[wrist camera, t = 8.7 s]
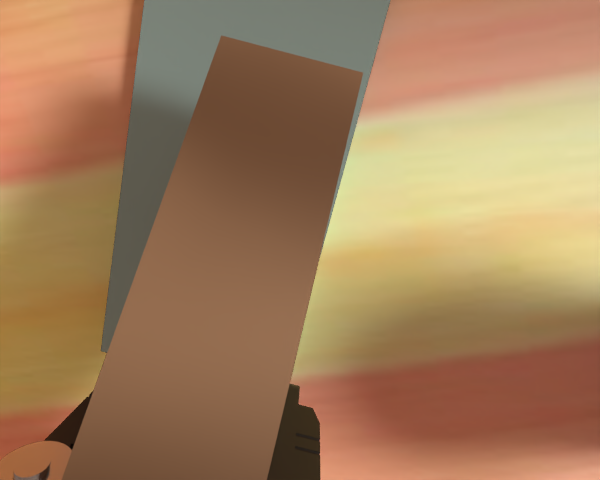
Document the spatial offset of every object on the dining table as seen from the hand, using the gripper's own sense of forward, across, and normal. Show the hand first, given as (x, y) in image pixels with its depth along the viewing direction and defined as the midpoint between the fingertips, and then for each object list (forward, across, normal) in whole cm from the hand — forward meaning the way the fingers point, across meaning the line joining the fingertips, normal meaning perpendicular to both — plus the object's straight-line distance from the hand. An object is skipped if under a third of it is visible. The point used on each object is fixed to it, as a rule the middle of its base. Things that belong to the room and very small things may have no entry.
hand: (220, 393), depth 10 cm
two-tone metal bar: (0, 0, +1) cm, 1 cm away
